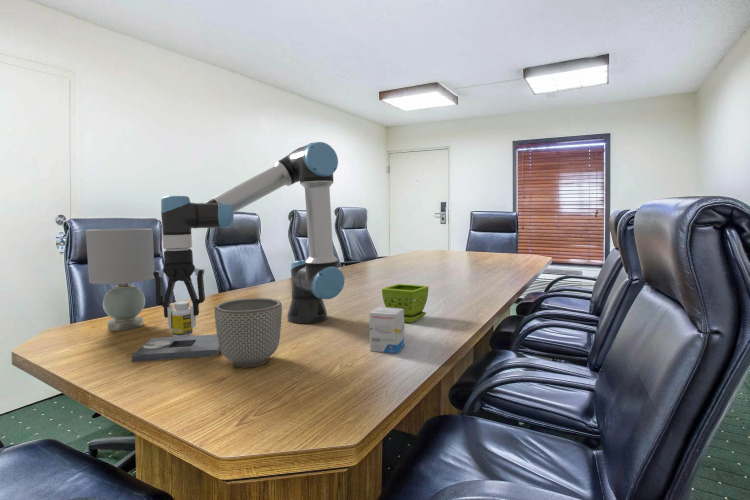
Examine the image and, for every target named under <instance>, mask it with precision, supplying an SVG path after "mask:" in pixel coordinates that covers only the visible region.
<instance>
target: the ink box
mask: <svg viewBox="0 0 750 500" xmlns="http://www.w3.org/2000/svg"><path fill="white" fill-rule="evenodd" d="M368 315H369V316H368V317H369V318H368V320H369V351H370V352H379V353H387V354H396V355H398V354H399V352H400V351H401V350H403V348H404V346H405V322H404V309H400V308H388V307H385V306H378V307H376V308H374V309H373V310H372V311H370V312H369V313H368Z"/></svg>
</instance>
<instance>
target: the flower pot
mask: <svg viewBox="0 0 750 500" xmlns="http://www.w3.org/2000/svg"><path fill="white" fill-rule="evenodd" d="M429 289H430V288H429V286H428V285H419V284H407V283H405V284H404V283H397V284H393V285H390V286H385V287H382V289H381V294H382V300H383V303H384V307H388V308H400V309H404V323H413V322H416V321H418V320H420V319H422V318H424V316H425V315H426V314H427V312H426V311H424V309H425V307H426V304H427V301H428V296H429Z"/></svg>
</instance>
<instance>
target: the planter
mask: <svg viewBox="0 0 750 500" xmlns="http://www.w3.org/2000/svg"><path fill="white" fill-rule="evenodd" d="M282 311H283V307H282V302H281V301H280V300H278V299H275V298H269V297H267V298H265V297H264V298H263V297H250V298H249V297H248V298H239V299H232V300H226V301H223V302H220V303H218V304H216V305H215V306H214V321H215V330H216V334H217V338H218V343H219V347H220V353H221V355H222V356H223V357H224V358H226V359H227V360H229V361H231V362H232V363H233V365H234V366H236V367H238V368H245V369H246V368H248V369H249V368H254V367H258V366H261V365H264V364H265V363H266V362H267V361H268V359H269V358H270V357H271V356H272V355H273V354H275V352H276V351H277V349H278V347H279V344H280V340H281V339H280V338H281V330H282V318H283V317H282V314H283V313H282Z"/></svg>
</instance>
